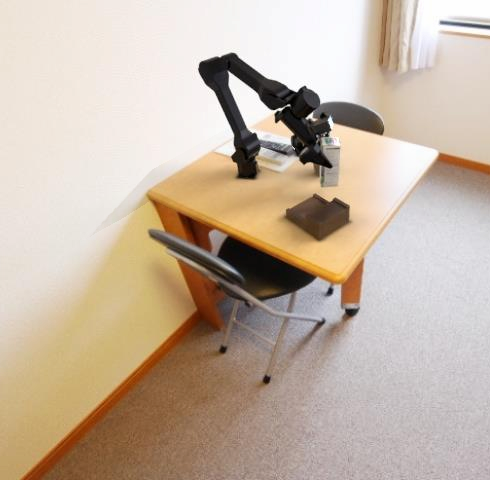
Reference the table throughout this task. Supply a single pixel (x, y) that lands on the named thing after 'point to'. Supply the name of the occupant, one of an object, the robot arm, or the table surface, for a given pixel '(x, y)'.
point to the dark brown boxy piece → (319, 215)
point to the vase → (316, 168)
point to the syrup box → (333, 155)
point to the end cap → (297, 145)
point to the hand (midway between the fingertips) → (334, 162)
